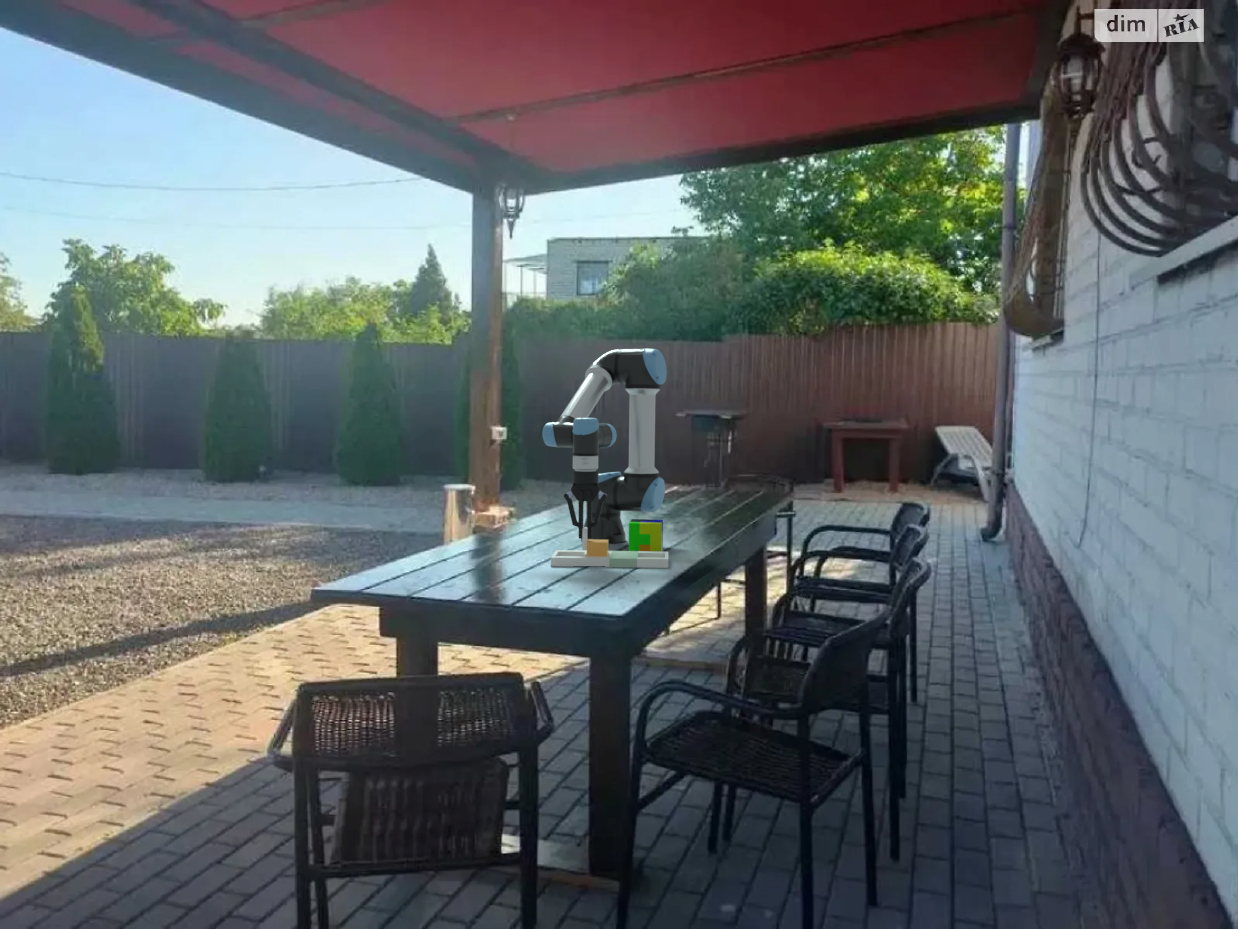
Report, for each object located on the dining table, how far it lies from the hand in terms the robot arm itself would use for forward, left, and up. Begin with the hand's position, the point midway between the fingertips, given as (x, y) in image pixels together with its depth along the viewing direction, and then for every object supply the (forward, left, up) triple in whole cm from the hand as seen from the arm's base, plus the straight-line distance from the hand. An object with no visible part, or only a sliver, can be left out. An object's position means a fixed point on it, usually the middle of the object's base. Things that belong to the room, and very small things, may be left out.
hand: (585, 549), depth 298 cm
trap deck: (0, +8, -4) cm, 9 cm away
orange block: (0, +4, -1) cm, 4 cm away
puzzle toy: (-20, +18, -4) cm, 27 cm away
